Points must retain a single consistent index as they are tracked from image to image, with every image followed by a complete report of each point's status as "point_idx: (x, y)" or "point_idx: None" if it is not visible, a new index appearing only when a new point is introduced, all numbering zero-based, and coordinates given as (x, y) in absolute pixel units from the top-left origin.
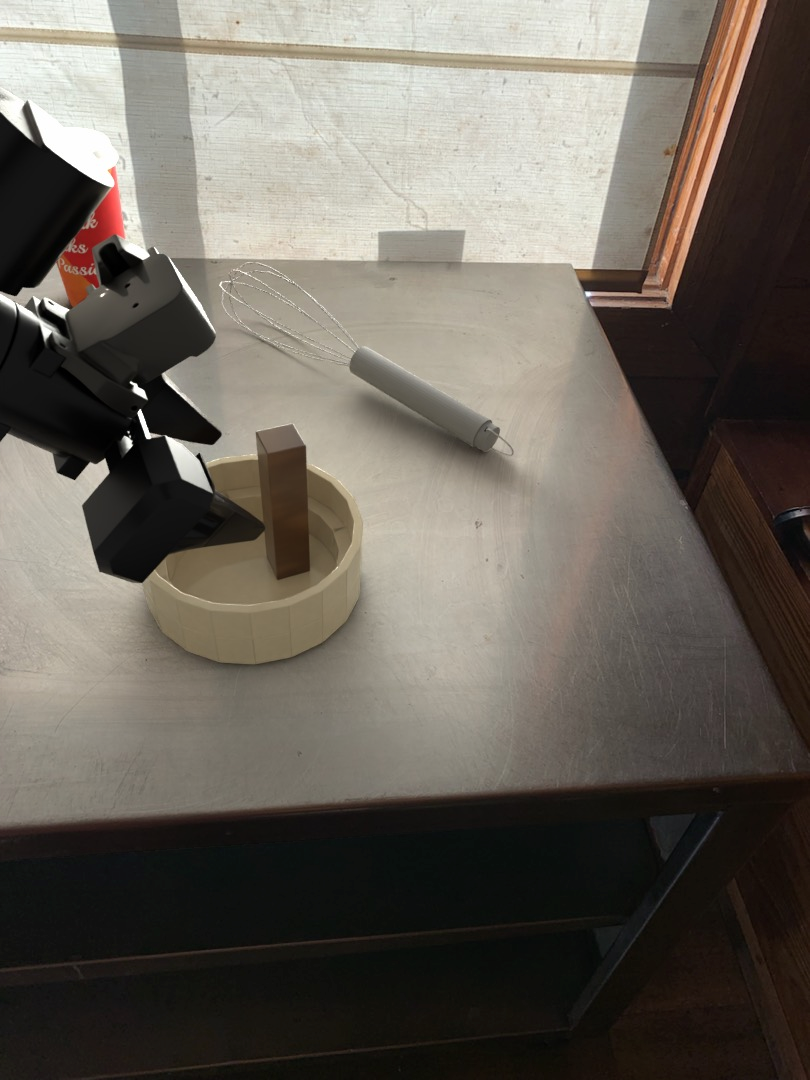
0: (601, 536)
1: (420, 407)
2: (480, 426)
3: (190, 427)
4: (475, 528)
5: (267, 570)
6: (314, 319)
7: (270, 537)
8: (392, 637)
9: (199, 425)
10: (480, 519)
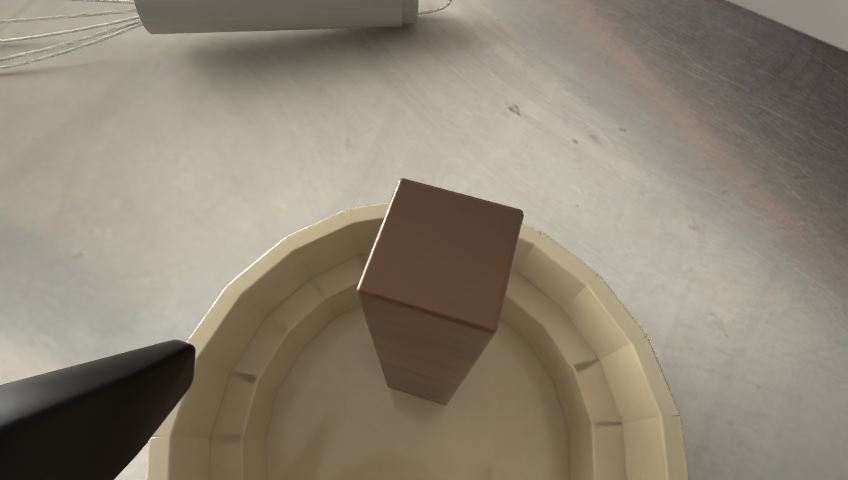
0: (612, 30)
1: (301, 16)
2: None
3: (106, 439)
4: (518, 116)
5: (415, 405)
6: None
7: (429, 387)
8: None
9: (127, 406)
10: (508, 102)
